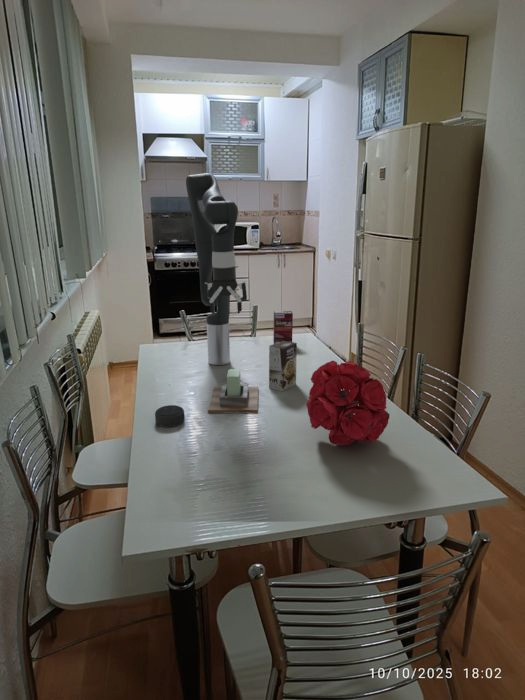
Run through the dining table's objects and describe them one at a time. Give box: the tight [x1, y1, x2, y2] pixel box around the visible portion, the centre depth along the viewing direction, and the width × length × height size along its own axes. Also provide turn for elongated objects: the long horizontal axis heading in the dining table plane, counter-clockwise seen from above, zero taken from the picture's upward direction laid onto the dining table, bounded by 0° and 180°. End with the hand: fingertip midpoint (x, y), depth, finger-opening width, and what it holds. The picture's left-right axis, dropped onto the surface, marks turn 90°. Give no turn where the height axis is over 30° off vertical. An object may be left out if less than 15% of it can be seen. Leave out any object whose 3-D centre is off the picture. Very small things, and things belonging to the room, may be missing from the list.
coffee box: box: [268, 341, 298, 392], centre depth 172 cm, size 9×6×16 cm
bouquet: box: [306, 360, 390, 446], centre depth 135 cm, size 22×24×30 cm
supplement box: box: [272, 310, 294, 344], centre depth 223 cm, size 9×5×16 cm, turn 95°
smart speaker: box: [154, 404, 186, 428], centre depth 147 cm, size 9×9×4 cm
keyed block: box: [226, 368, 241, 396], centre depth 161 cm, size 4×7×9 cm, turn 179°
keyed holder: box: [207, 383, 259, 414], centre depth 162 cm, size 20×16×4 cm
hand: (226, 312), depth 161 cm, fingers open, 8 cm apart
